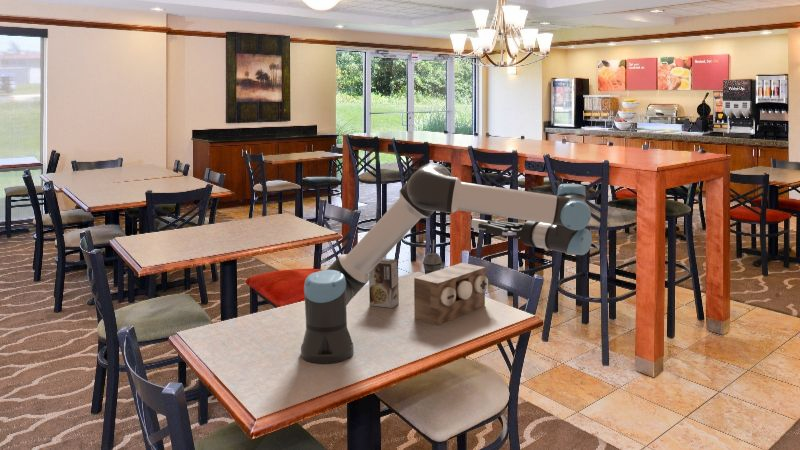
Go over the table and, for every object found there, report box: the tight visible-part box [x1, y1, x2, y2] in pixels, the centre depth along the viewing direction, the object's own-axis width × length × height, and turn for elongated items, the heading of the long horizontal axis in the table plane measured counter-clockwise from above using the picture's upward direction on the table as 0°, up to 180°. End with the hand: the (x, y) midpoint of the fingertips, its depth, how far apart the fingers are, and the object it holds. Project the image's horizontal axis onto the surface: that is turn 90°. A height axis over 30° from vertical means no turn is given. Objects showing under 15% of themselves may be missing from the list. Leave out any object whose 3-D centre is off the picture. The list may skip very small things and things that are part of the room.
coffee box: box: [368, 258, 400, 309], centre depth 228 cm, size 9×6×16 cm
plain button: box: [457, 281, 472, 299], centre depth 215 cm, size 6×2×6 cm, turn 137°
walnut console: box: [413, 262, 489, 326], centre depth 219 cm, size 26×12×14 cm, turn 137°
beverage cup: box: [422, 239, 443, 275], centre depth 241 cm, size 7×7×20 cm
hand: (472, 223), depth 203 cm, fingers closed
